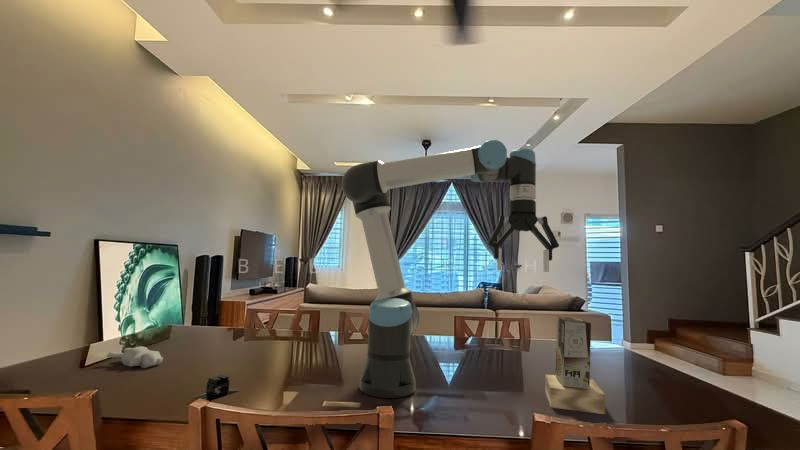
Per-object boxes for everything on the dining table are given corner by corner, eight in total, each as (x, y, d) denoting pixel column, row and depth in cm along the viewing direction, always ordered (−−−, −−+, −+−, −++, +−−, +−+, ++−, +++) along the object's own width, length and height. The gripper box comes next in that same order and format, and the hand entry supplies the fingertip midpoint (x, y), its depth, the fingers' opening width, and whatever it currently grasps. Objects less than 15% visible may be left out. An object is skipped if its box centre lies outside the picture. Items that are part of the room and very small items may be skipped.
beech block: (550, 409, 90) (550, 387, 90) (545, 392, 101) (545, 374, 102) (605, 416, 86) (604, 394, 87) (593, 398, 98) (592, 379, 98)
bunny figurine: (145, 357, 107) (104, 347, 110) (141, 375, 107) (100, 364, 110) (171, 350, 116) (133, 340, 119) (168, 366, 116) (129, 356, 119)
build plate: (202, 407, 84) (203, 386, 84) (183, 400, 87) (185, 380, 88) (247, 392, 95) (249, 373, 95) (229, 386, 98) (230, 368, 99)
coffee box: (590, 390, 89) (592, 323, 91) (562, 386, 91) (564, 320, 92) (580, 378, 98) (581, 317, 100) (554, 375, 100) (556, 315, 101)
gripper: (482, 197, 108) (481, 269, 106) (569, 199, 106) (570, 272, 104) (479, 201, 116) (478, 269, 114) (560, 203, 114) (561, 272, 111)
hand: (522, 271), depth 109 cm, fingers open, 13 cm apart
